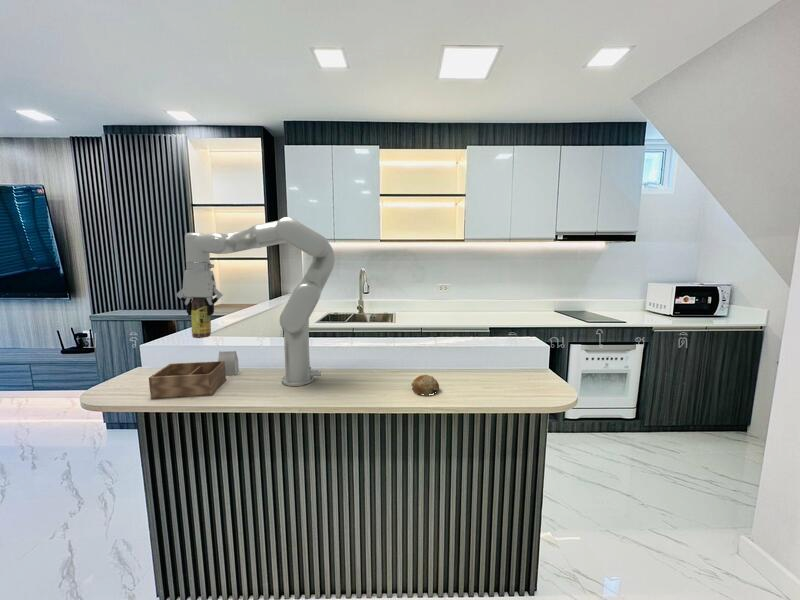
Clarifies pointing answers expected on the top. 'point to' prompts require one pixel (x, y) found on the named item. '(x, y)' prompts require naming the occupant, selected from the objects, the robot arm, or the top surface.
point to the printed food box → (229, 362)
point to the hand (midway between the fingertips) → (200, 314)
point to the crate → (187, 380)
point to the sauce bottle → (200, 318)
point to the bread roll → (425, 385)
